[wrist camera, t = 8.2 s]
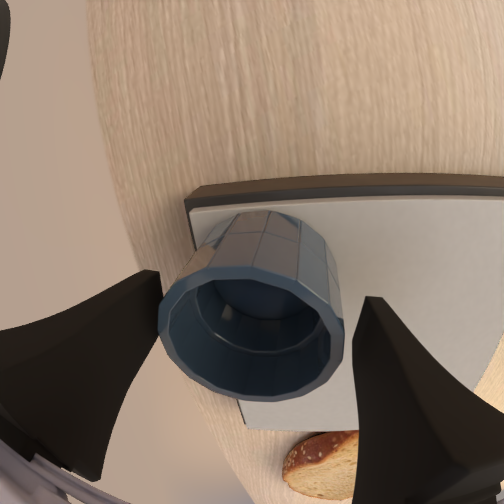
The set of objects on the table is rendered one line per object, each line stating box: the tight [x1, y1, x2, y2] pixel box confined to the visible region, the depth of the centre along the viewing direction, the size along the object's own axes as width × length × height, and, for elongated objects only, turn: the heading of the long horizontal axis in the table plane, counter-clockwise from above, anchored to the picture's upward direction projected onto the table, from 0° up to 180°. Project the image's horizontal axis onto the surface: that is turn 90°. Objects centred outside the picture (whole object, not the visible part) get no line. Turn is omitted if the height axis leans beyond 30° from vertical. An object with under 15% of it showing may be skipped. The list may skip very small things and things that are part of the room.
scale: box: [184, 173, 504, 431], centre depth 15 cm, size 17×17×3 cm
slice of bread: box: [282, 430, 359, 500], centre depth 24 cm, size 18×18×4 cm
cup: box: [157, 210, 345, 402], centre depth 10 cm, size 6×6×4 cm
